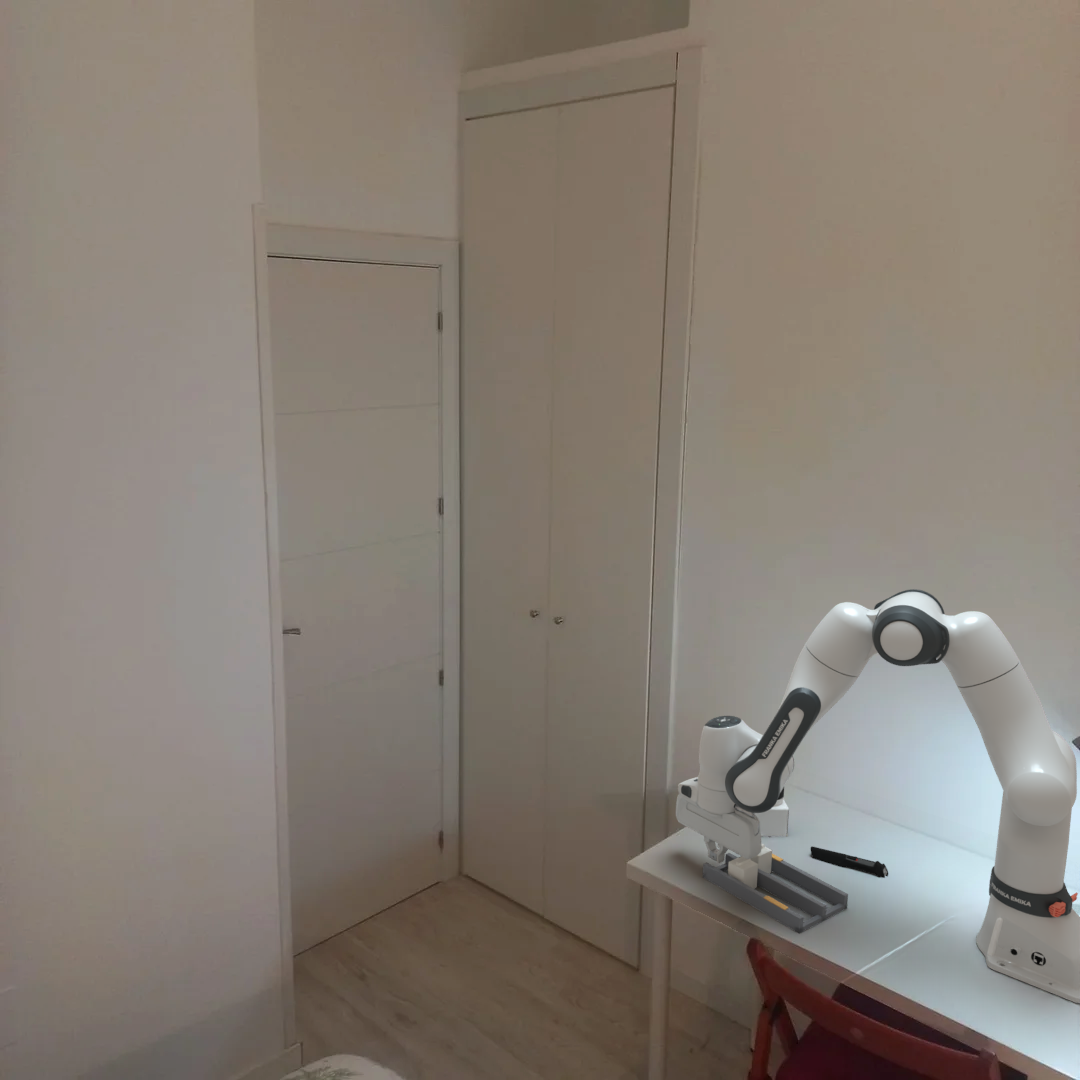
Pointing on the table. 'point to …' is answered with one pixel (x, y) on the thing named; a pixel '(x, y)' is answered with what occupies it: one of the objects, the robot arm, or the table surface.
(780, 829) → the medicine bottle
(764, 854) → the white rectangular block
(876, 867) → the electric trimmer
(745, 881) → the white boxy block
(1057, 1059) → the table surface
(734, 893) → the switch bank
